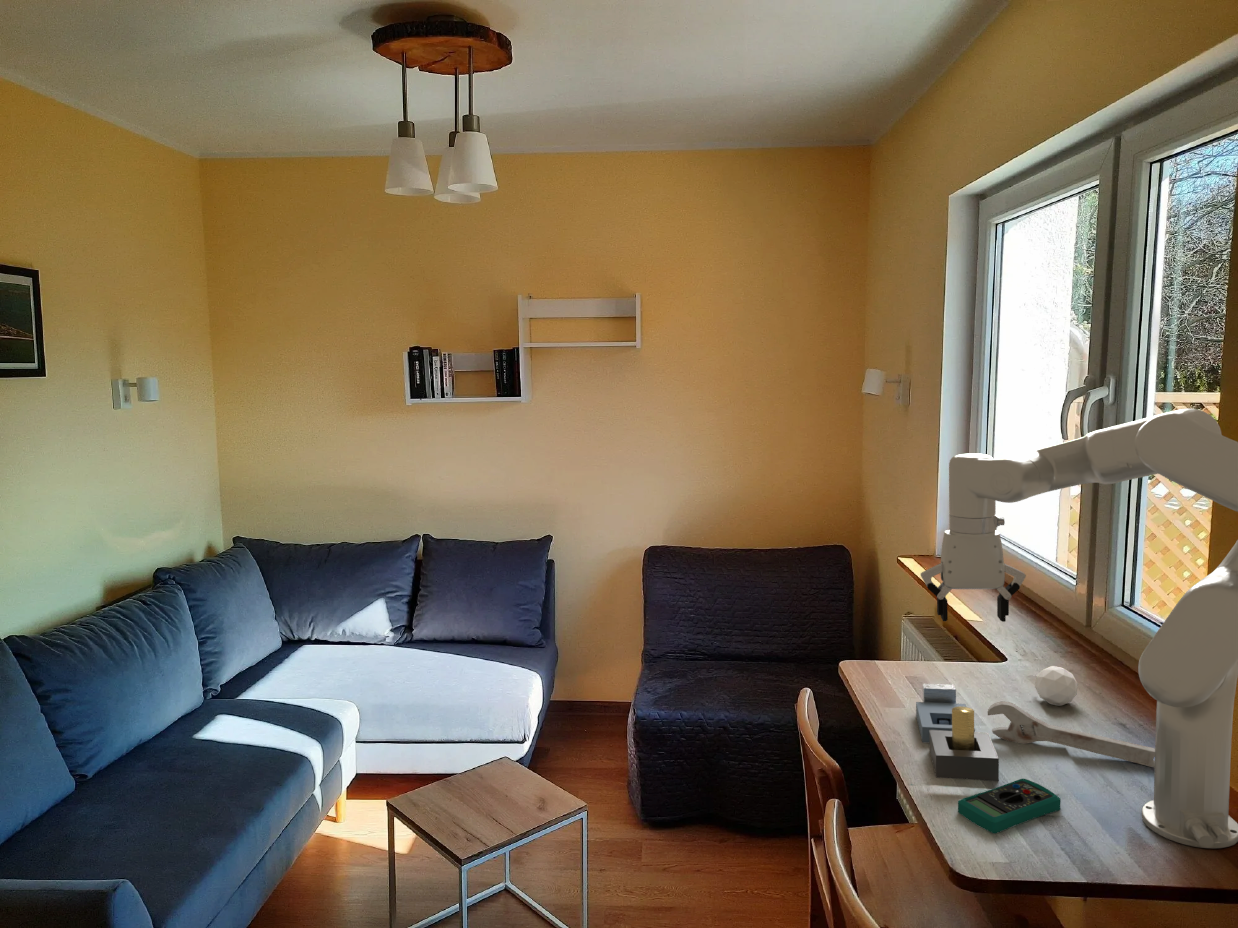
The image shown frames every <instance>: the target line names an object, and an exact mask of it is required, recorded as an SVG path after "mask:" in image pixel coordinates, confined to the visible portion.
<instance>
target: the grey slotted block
mask: <svg viewBox="0 0 1238 928" xmlns="http://www.w3.org/2000/svg"><path fill="white" fill-rule="evenodd" d="M929 754H930V758H931V762H932V766H933V770H934V774H935V778H939V779H954V780H955V779H956V780H969V781H970V780H973V781H989V782H999V781H1000V777H999V776H1000V773H999V772H1000V771H999V769H1000V765H999V764H1000V761H999V760H1000V759H999V756H998V753H997V750H996V748H995V746H994V744H993V741H992V739H991V736H990V734H989V732H979V731H975V732H974V751H967V750H952V731H942V730H929Z"/></svg>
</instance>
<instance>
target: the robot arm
mask: <svg viewBox="0 0 1238 928" xmlns="http://www.w3.org/2000/svg"><path fill="white" fill-rule="evenodd" d="M1154 475H1160V476H1162V477H1163V478H1165V479H1168V480H1170V481H1171V482H1173V483H1175V484H1177V485H1180V486H1182V487H1183V488H1186V489H1187V490H1190V491H1192V492H1194V493H1196V494H1199V495H1200V496H1201V497H1204V498H1207V499H1208V500H1210V501H1212V502H1215V503H1217V504H1219V505H1221V506H1223V507H1225V508H1228V509H1230V510H1233V511H1234V512H1237V513H1238V441H1236V440H1233V439H1231V438H1229V437H1227V436H1224V435H1222V430H1221V427H1220V425H1219V423H1218V422H1217V420H1216V419H1215V418H1214V417H1213V416H1212V415H1211V414H1209V413H1207V412H1205V411H1203V410H1202V409H1201V410H1200V409H1197V408H1180V409H1176V410H1172V411H1167V412H1164V413H1160V414H1157V415H1152V416H1149V417H1144V418H1141V419H1137V420H1134V421H1129V422H1126V423H1121V424H1117V425H1113V426H1110V427H1106V428H1102V429H1097V430H1094V431H1092V432H1088V433H1087V434H1085V435H1084V436H1082V437H1079V438H1076V439H1072V440H1069V441H1066V442H1061V443H1057V444H1054V445H1049V446H1046V447H1043V448H1038V449H1033V450H1030V451H1025V452H1020V453H1016V454H1013V455H1010V456H1005V457H1001V458H993V457H992V456H991V455H988V454H986V453H984V454H983V453H960V454H956V455H954V456H952V457H951V458H950V459H949V463H948V492H949V493H948V499H949V500H948V503H949V504H948V505H949V506H948V507H949V510H948V511H949V513H948V514H949V515H948V517H949V519H948V520H949V521H948V522H949V524H948V525H949V529H947V530H944V532H943V537H942V542H941V543H942V544H941V553H940V563H938V564H935V565H934V566H932V567H930V568H928V569H926V570H924V571H921V572H920V576H921V579H922V580H923V582H924V584H925V586H926V587H927V589H928V590H929V591H930V592H931V593H932V594H933V595H934V596H935V597H936V610H937V612H936V614H937V616H940V618H941V620H942V622H948V620H949V619H948V615H949V614H948V609H949V608H948V599H947V597H946V596H947V595H948V594H949V593H950V592H951V591H952V590H997V592H998V593H999V594H998V595H997V596H996V597H997V601H996V602H997V603H996V607H997V608H996V609H997V610H996V611H997V612H996V616H997V618H998V619H999V621H1001V622H1002V623H1003V622H1004V623H1005V622H1006V617H1007V616H1009V614H1010V600H1011V598H1012V596H1014V594H1015V593H1017V592H1019V590H1020V588H1021V586H1022V584H1023V583H1024V580H1025V579H1026V577H1027V575H1026V574H1025V572H1023V571H1021V570H1019V569H1017V568H1016V567H1013V566H1011V565H1008V564H1007V563H1005V560H1004V552H1003V543H1002V539H1001V535H1000V531H998V530H997V528H998V527H1000V526H1005V524H1006V523H1005V518H1004V517H1000V516H997V515H996V505H997V504H996V502H1000V503H1001V502H1002V503H1010V504H1012V503H1018V502H1021V501H1023V500H1026V499H1029V498H1031V497H1034V496H1038V495H1042V494H1045V493H1048V492H1053V491H1057V490H1063V489H1066V488H1070V487H1076V486H1079V485H1086V484H1093V483H1094V484H1095V483H1097V484H1101V485H1111V484H1118V483H1121V482H1126V481H1130V480H1135V479H1139V478H1140V479H1141V478H1145V477H1149V476H1154ZM939 574H940V579H941V581H942V582H941V583H940V584H939V586H937V585H936V584H935V583H934V582H933V581H932V578H933V577H935V576H937V575H939ZM1006 574H1008V575H1010V576H1012V577H1013V579H1012V581H1011V582H1010V583H1009V584H1008V585H1007V586H1005V578H1006V577H1005V575H1006ZM1137 666H1138V669H1137V670H1138V677H1139V680H1140V683H1141V685H1142V687H1143V688H1144V690H1145V691H1146V693H1147V694H1149V696H1150V697H1152V699H1154V700H1156V712H1155V713H1156V714H1155V738H1154V739H1155V744H1154V745H1155V746H1154V748H1155V757H1154V761H1155V767H1154V780H1153V781H1154V782H1153V789H1154V790H1153V800H1150V801H1148V802H1146V803H1144V804H1143V806H1142V808H1141V819H1142V821H1143V823H1144V824H1145V825H1146V827H1148V828H1149V829H1150V830H1152V831H1153V832H1154V833H1156V834H1157V835H1159V836H1161V837H1163V838H1165V839H1167V840H1171V841H1173V842H1175V843H1180V844H1182V845H1185V846H1189V847H1194V848H1201V849H1223V848H1229V847H1231V846H1234V845H1236V844H1237V843H1238V822H1237V821H1236V820H1235V819H1233V818H1232V817H1231V816H1230V815H1229V811H1230V809H1229V807H1230V785H1231V784H1230V779H1231V756H1232V755H1231V754H1232V753H1231V752H1232V737H1233V717H1234V716H1233V715H1234V706H1235V697H1236V690H1237V689H1236V688H1237V684H1238V683H1237V682H1238V539H1237V540H1236V542H1235V544H1234V545H1233V546H1232V547H1231V549H1230V551H1229V552H1228V553H1227V554H1226V556H1225V557H1224V558H1223V560H1222V561H1221V562H1220V564H1218V566H1217V567H1216V568H1215V569H1214V570H1213V571H1212V572H1211V573H1209V574H1208V575H1206V576H1204V577H1203V578H1202V579H1200V580H1199V581H1197V583H1195V584H1194V585H1192V586H1190V588H1189V589H1187V591H1186V592H1185V593H1184V594H1183V595H1182V596H1181V598H1180V599H1179V601H1177V603H1176V605H1175V606H1174V607H1173V609H1172V610H1171V611H1170V613H1169V614H1168V616H1167V617H1166V619H1165V620H1164V621H1163V623H1162V624H1161V626H1160V627H1159V629H1157V631H1156V633H1155V634H1154V636H1153V637H1152V639H1151V640H1150V641H1149V643H1148V644H1147V645H1146V646H1145V648H1144V650H1143V652H1142V653H1141V655H1140V658H1139V661H1138V665H1137Z"/></svg>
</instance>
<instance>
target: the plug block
mask: <svg viewBox="0 0 1238 928" xmlns="http://www.w3.org/2000/svg"><path fill="white" fill-rule="evenodd" d="M922 702H930V703H955V704H957V689H956V686H955V684H945V683H944V684H942V683H922ZM937 721H938V724H939V725H949V719H948V718H937Z"/></svg>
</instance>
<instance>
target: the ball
mask: <svg viewBox="0 0 1238 928" xmlns="http://www.w3.org/2000/svg"><path fill="white" fill-rule="evenodd" d="M1034 685H1035V686H1034V688H1035V690H1036V693H1037V694H1038V696H1039V697H1040V699H1042V700H1044V701H1045V702H1047V703H1048V704H1050V705H1054V706H1059V707H1061V706H1064V705H1066V704H1068V703H1071V702H1072V701H1073V700H1074V699H1075V697H1076V695H1077V694H1078V686H1079V684H1078V681H1077V680H1076V678H1075V676H1074V674H1073V673H1072V672H1070V671H1069V670H1067V669H1065V668H1063V667H1060V666H1056V665H1051V666H1048V667H1046V668H1044V669H1042V670H1041V671H1039V673H1038V674H1037V675H1036V677H1035V683H1034Z"/></svg>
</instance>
